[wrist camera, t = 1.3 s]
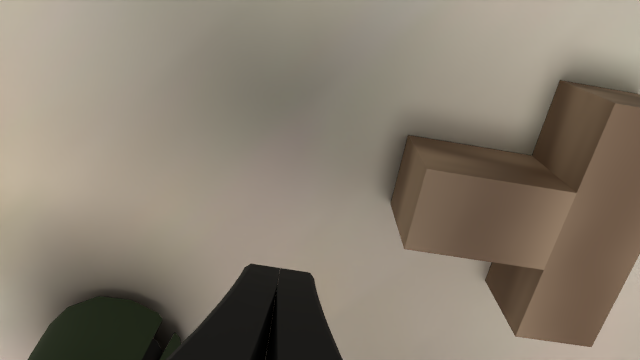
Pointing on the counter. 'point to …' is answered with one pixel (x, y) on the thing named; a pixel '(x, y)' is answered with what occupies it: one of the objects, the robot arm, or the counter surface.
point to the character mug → (104, 333)
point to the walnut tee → (537, 212)
